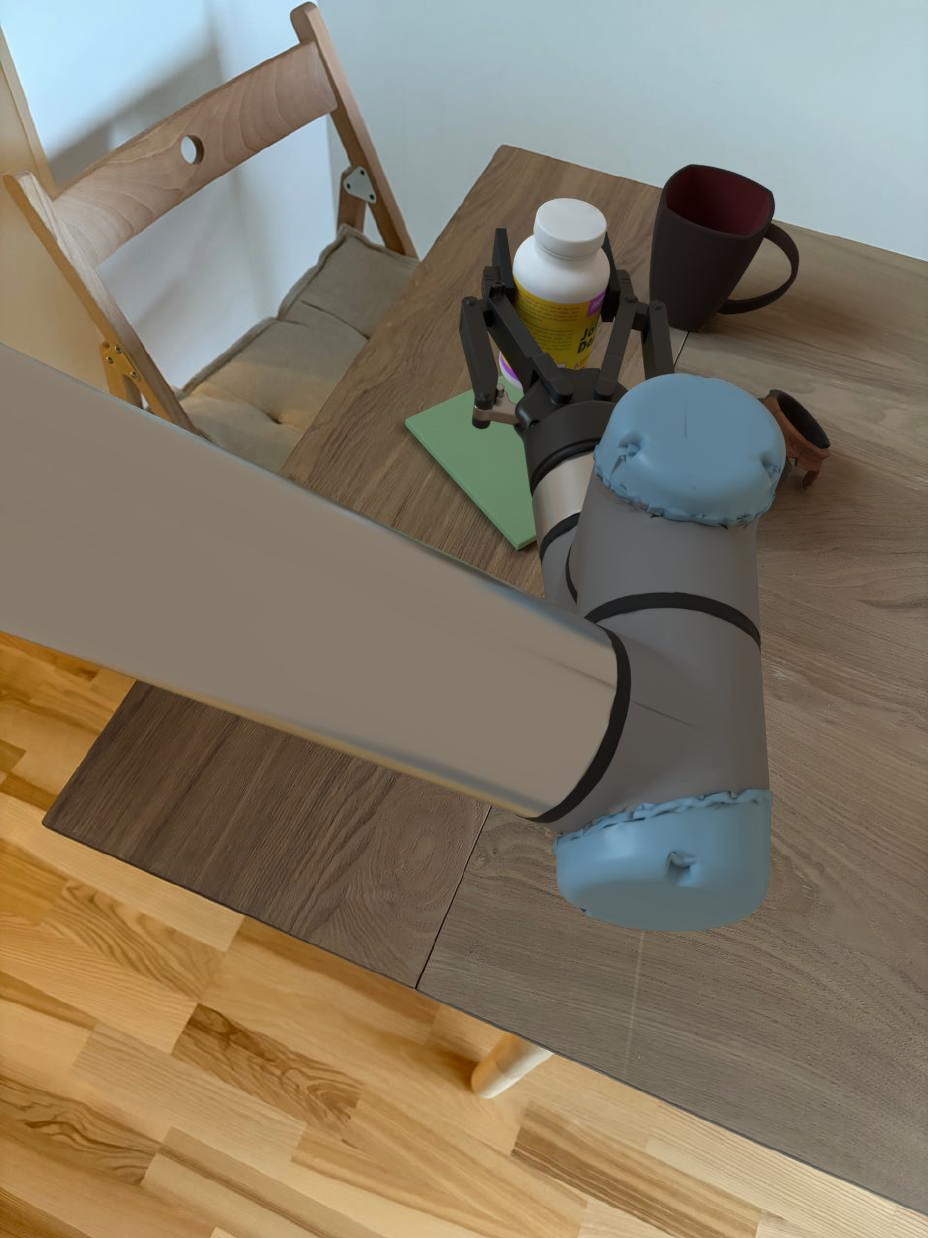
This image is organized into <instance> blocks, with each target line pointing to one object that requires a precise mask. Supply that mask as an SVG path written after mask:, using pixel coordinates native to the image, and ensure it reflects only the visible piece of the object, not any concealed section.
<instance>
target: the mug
mask: <svg viewBox="0 0 928 1238" xmlns="http://www.w3.org/2000/svg"><path fill="white" fill-rule="evenodd" d="M775 212H776V201H775V196H774V193H773V191H772V190H770V189H769V188H767V187H765V185H763V184H761V183H759V182H757V181H756V180H753V179H751V178H749V177H748V176H745V175H743V174H739V173H737V172H734V171H732V170H728V169H725V168H720V167H717V166H711V165H705V164H695V163H690V164H686V166H683V167H681V168H680V169H678V170H677V171H675V172H674V173H673V174H672V175H671V176H670V177H669V178H668V179H667V180H666V182H665V184H664V186H663V188H662V191H661V193H660V198H659V201H658V206H657V211H656V213H655V219H654V225H653V231H652V239H651V247H650V248H651V250H650V258H649V259H650V261H649V273H648V274H649V275H648V277H649V278H648V279H649V280H648V293H649V294H648V296H649V297H648V298H649V303H650V302H651V301H653V300H658V301H661V302H663V303H664V304H665V305H666V309H667V317H668V325H669V327H672V328H675V329H678V330H682V331H688V332H694V333H697V332H699V331H701V330H702V329H703V328H705V327H706V326H707V325H708V324H709V323H710V322H711V320H712V319H713V318H714V317H715V316H716V314H717V313H718V314H721V315H729V316H730V315H739V314H740V315H741V314H746V313H749V312H753V311H757V310H760V309H763V308H764V307H767V306H769V305H771V304H773V303H775V302H777V301H778V300H779V299H780V298H781V297H783V295H785V294H786V293H787V291H788V290H789V289H790V288H791V287H792V285H793V284H794V282H795V281H796V280H797V279H796V278H797V276H798V274H799V273H798V272H799V266H800V253H799V252H800V251H799V249H798V247H797V245H796V242H795V241H794V240H793V238H792V237H791V236H790V234H789V233H788V232H786V230H784V229H783V228H781V227H780V226H778V225H777V224H775V223H772V221H773V218H774V216H775ZM764 239H767V240H768V241H769V242H772V244H774V245H776V246H777V247H778V248H779V249H780V250H781V251H782V252H783V254H784V255H785V256H786V258H787V259H788V261H789V263H790V274H789V275H790V276H789V277H788V278H787V280H786V281H785V282H783V284H781V285H780V286H779V287H778V288H776V289H774V290H771V291H769V292H766V293H764V294H761V295H758V296H757V295H756V296H753V297H748V298H743V299H730V296H731V294H732V293H733V291H734V290H735V289H736V287H737V285H738V284H739V282H740V281H741V280H742V278H743V276H744V274H745V273H746V271H747V270H748V268H749V267H750V265H751V263H752V261H753V260H754V258H755V256H756V255H757V253H758V251H759V249H760V247H761V245H762V243H763V242H764Z"/></svg>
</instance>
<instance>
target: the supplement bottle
mask: <svg viewBox="0 0 928 1238" xmlns="http://www.w3.org/2000/svg"><path fill="white" fill-rule="evenodd" d="M533 224H534V225H533V234H532V235H530V236H529V237H527V238H526V239H525V240H524V241H523V242H522V243H521V244H520V245H519V247H518V248H517V250H516V252H515V256H514V258H513V264H512V271H513V277H514V284H515V292H514V298H513V305H512V306H513V308H514V309H515V311H516V312H517V314H518V315H519V317H520V318H521V320H522V321H523V323H524V324H525V326H526V327H527V329H528V330H529V332H530V333H531V335H532V336H533V338H534V340H535V341H536V343H537V344H538V346H539V347H540V349H541V350H542V352H543V353H546V352H547V353H549V354H550V356H551V357H552V359H553V360H554V362H555V363H556V365H557V366H558V367H564V368H569V369H574V370H579V369H585V368H588V363H589V360H590V357H591V352H592V348H593V344H594V340H595V336H596V333H597V328H598V324H599V320H600V318H601V314H600V312H601V308H602V304H603V300H604V296H605V292H606V288H607V285H608V280H609V276H610V266H609V261H608V258H607V256H606V254H605V253H604V251H603V250H602V248H601V246H602V245H603V242H604V237H605V233H606V232H607V228H608V223H607V220H606V217H605V215H604V214H603V213H602V211H601V210H600V209H599V208H597V207H596V206H594V205H592V204H590V203H588V202H587V201H583V200H580V199H576V198H568V197H567V198H566V197H563V198H554V199H550V200H549V201H546V202H544V203H543V204H542V205H541V206H540V207H539V208H538V209H537V211H536V214H535V218H534V223H533ZM498 363H499V368H500V371H501V373H502V375H504V377H505V378H506V379H507V381H508V382H509V383H510V384H511V385H513V386H514V387H515V388H517V389H519V390H521V391H522V392H523V387H522V385H521V383H520V382H519V380H518V378H517V377H516V375H515V374H514V372H513V370H512V369H511V367H510V366H509V364H508V363H507V361H506V359H505V358H504V356H503V355H502V353H501V351H500V350H499V359H498Z"/></svg>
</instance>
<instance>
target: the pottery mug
mask: <svg viewBox="0 0 928 1238" xmlns="http://www.w3.org/2000/svg"><path fill="white" fill-rule="evenodd" d="M756 399H757V400H759V401H760V402H761V403H762V404H763V405H764V406H765V407H766V408H767V409H768V410H769V411H770V412H771V414H772V415H773V416H774V418H775V419H776V421H777V423H778V425H779V427H780V429H781V431H782V434H783V436H784V440H785V447H786V459H785V465H784V468H783V471H782V473H781V476H780V478H779V481H778V483H777V486H776V488H775V494H777V492H778V491H780V489H781V488H782V486H783V485H784V483H786V482H787V481H788V479H789V476H790V475H791V472H792V471H793V464H792V462H791V460H789V459H794V467H795V468H797V469H802V470H805V471H807V472H806V474H805V475H804V476H803V478H802V479H801V481H800V485H801V486H802V488H803V490H804V491H807V490H808V489H809V488H810V487H812V486H813V484H814V482H815V481H816V480H817V479H818V476H819V475H820V472H821V468H822V462H824V461H825V460H827V459H829V458H830V457H831V452H830V450H829V448H830V447H831V441H830V439H829V437H828V436H827V434H826V432H825V431H824V429H823V427H822V426H821V425H820V424H819V422H818V421H817V420H816V419H815V417H813V415H812V414H811V413H810V412H809V411H808V409H806V408H805V406H803V405H802V404H801V402H799V401H798V400H796V398H795V397H793V396H792V395H790V394H789V393H787V392H786V391H783V390H781V389H777V388H774V389H773V388H772V389H770V390H769V392H768V394H767V395H766V396H765V397H758V398H756Z"/></svg>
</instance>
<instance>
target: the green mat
mask: <svg viewBox="0 0 928 1238" xmlns="http://www.w3.org/2000/svg"><path fill="white" fill-rule="evenodd" d="M498 383H501V384H503V385H504V386H505V389H504V390H505V391H506V392H507V393H508V398H509V400H510V401H511V402H513V403H515V404H517V403H518V402H519V401H520V399H521V398H522V397H523V396H524V394H523V392H522V391H521V390H519V389H517V388H515V387H514V386H513V385H511V384H510V383H509V382H508V381H507V379H506V378H505V377H504V375H503V374H502V375H500V376H499V375H498ZM498 383H497V384H498ZM474 399H475V395H474V391H473V388H471V389H469V390H467V391H464V392H462V393H460V394H458V395H456V396H453V397H451V398H449V399H447V400H445V401H443V402H440V403H438V404H436V405H434V406H432V407H429V408H427V409H425V410H422V411H421V412H419V413H416V414H413V415H411V416H409V417H407V418H406V419H405V423H404V424H405V427H406V429H408V431H410V432H411V434H412V435H413V436H414V437H415V438H416V440H418V442H420V444H421V445H422V446H423V447H424V448H425V449H426V451H427V452H429V454H430V455H431V456H432V457H433V458H434V459H435V460H436V461H437V463H438V464H439V465H440V466H441V467H442V468H443V470H445V471H446V472H447V474H448V475H449V476H450V477H451V479H453V480H454V482H455V483H456V484H457V485H458V486H459V487H460V488H461V489H462V490H463V491H464V493H465V494H466V495H467V496H468V497H469V498H470V499H471V500H472V501H473V503H474V504H475V505H476V506H477V507H478V509H480V510H481V512H483V514H484V515H485V516H486V517H487V518H488V519H489V520H490V522H491V523H492V524H493V525H494V526H495V527H496V528H497V529H498V531H499V532H500V533H501V534H502V535H503V536H504V537H505V538H506V539H507V541H508V542H509V543H510V544H511V545H512V546H513V547H514V548H515V550H517V551H519V550H521V549H523V548H524V547H527V546H529V544H533V543H534V542H535V541H537V538H536V530H535V523H534V515H533V508H532V499H533V498H532V496H531V493H530V487H529V480H528V472H527V465H526V458H525V450H524V443H523V441H522V439H521V437H520V436H519V435H518V434H517V433H516V431H515V430H514V427H513V425H509V424H504V423H499V422H494V421H491V423H490V426H489V427H488V428H486V429H478V428H475V427H474V426H473V425H472V415H473V407H474Z"/></svg>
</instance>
